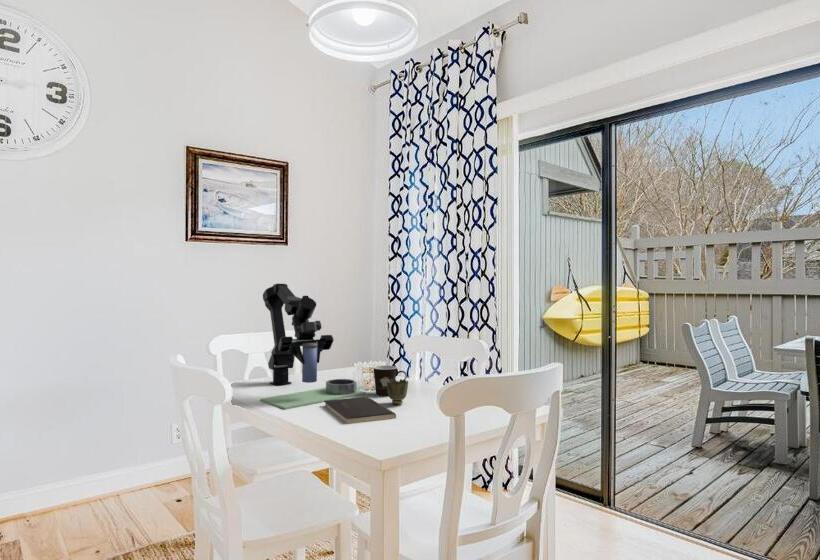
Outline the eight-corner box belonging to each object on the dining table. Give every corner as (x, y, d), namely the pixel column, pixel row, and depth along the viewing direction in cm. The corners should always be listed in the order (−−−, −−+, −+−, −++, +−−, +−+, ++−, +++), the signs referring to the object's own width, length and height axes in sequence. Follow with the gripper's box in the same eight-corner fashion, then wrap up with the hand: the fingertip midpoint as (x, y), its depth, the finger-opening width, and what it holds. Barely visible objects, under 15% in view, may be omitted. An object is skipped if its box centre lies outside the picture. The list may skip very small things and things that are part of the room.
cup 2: (409, 401, 182) (409, 378, 181) (406, 407, 174) (407, 383, 174) (387, 401, 182) (388, 378, 182) (384, 406, 175) (385, 382, 175)
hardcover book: (346, 425, 154) (346, 418, 154) (324, 407, 174) (324, 400, 174) (396, 420, 161) (396, 412, 161) (368, 403, 181) (368, 396, 181)
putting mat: (260, 400, 180) (260, 398, 180) (339, 386, 204) (339, 385, 204) (285, 409, 169) (285, 407, 169) (365, 393, 193) (365, 392, 193)
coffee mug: (369, 395, 190) (369, 368, 190) (379, 391, 198) (379, 364, 198) (398, 399, 185) (398, 371, 185) (407, 394, 193) (407, 367, 193)
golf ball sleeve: (298, 381, 181) (299, 343, 180) (309, 378, 185) (310, 342, 185) (308, 383, 177) (309, 345, 177) (320, 380, 182) (320, 343, 181)
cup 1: (320, 391, 194) (320, 381, 194) (343, 386, 202) (343, 377, 202) (338, 396, 186) (338, 386, 186) (362, 391, 194) (362, 382, 194)
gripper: (280, 313, 180) (288, 350, 170) (332, 312, 189) (342, 347, 179) (274, 333, 187) (282, 370, 177) (324, 331, 196) (334, 366, 186)
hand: (311, 362), depth 180 cm, fingers closed on golf ball sleeve, 5 cm apart
